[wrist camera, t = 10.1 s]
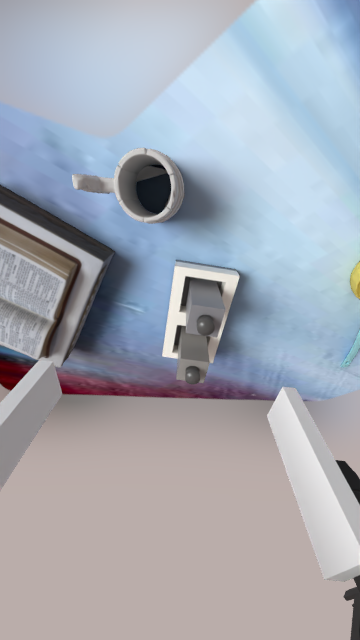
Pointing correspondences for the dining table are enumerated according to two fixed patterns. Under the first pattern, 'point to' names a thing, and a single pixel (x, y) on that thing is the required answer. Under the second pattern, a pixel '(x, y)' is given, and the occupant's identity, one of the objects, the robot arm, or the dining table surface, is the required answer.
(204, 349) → the twin plug
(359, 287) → the ladle
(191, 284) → the plug
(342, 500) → the robot arm
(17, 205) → the bible
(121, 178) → the mug
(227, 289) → the strip
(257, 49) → the dining table surface
